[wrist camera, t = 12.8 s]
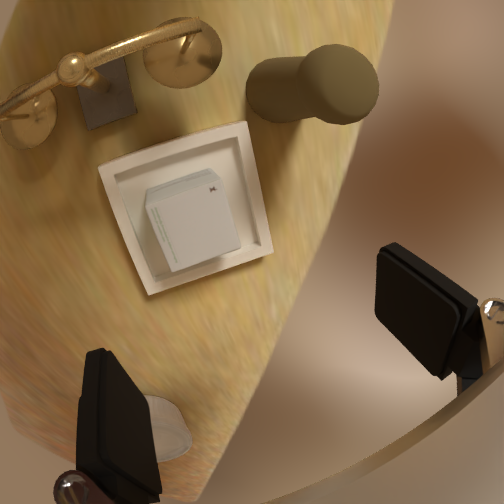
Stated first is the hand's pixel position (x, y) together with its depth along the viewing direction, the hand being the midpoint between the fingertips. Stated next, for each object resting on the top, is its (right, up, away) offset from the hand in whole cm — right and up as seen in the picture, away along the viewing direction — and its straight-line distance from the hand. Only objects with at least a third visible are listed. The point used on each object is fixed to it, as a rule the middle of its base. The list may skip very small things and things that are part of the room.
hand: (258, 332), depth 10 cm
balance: (-12, +15, +10) cm, 22 cm away
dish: (-6, +6, +16) cm, 19 cm away
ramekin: (-14, -19, +26) cm, 35 cm away
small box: (-6, +6, +16) cm, 18 cm away
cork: (+2, +17, +15) cm, 22 cm away
